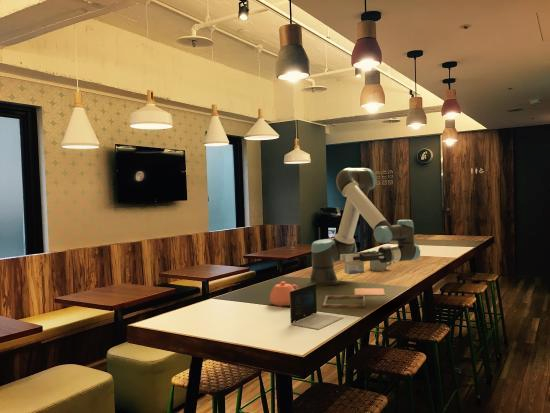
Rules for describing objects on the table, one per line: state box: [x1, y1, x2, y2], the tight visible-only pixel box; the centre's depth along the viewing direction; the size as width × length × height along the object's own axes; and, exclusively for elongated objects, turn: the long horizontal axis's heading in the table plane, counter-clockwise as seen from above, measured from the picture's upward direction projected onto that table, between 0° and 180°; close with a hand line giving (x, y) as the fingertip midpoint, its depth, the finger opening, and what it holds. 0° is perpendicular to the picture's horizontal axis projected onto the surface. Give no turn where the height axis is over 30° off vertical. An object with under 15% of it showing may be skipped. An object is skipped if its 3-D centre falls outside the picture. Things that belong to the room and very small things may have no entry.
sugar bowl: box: [269, 281, 299, 308], centre depth 204 cm, size 12×14×10 cm
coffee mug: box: [369, 260, 393, 272], centre depth 285 cm, size 13×10×10 cm
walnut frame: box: [322, 295, 367, 308], centre depth 203 cm, size 18×18×1 cm
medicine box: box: [343, 253, 365, 275], centre depth 209 cm, size 8×4×9 cm, turn 108°
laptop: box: [289, 283, 344, 330], centre depth 175 cm, size 18×12×13 cm
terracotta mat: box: [353, 287, 386, 296], centre depth 222 cm, size 14×14×1 cm
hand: (343, 258), depth 207 cm, fingers closed on medicine box, 4 cm apart
